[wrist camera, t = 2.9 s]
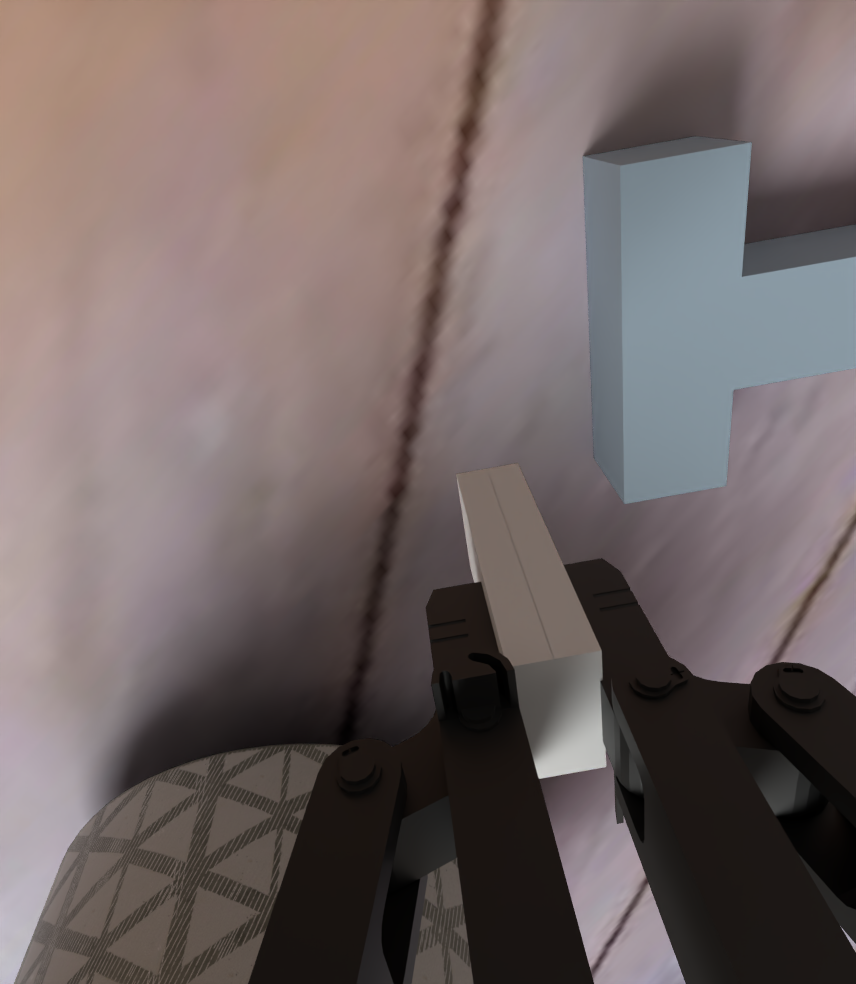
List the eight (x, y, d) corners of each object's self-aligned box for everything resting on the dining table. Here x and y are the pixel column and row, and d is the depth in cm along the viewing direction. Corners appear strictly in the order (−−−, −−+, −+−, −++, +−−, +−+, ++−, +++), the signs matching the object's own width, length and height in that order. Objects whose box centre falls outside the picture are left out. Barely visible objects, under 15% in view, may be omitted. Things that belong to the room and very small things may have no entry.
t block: (582, 156, 24) (620, 165, 21) (920, 96, 24) (1014, 95, 21) (593, 457, 30) (624, 504, 27) (864, 409, 30) (930, 449, 27)
